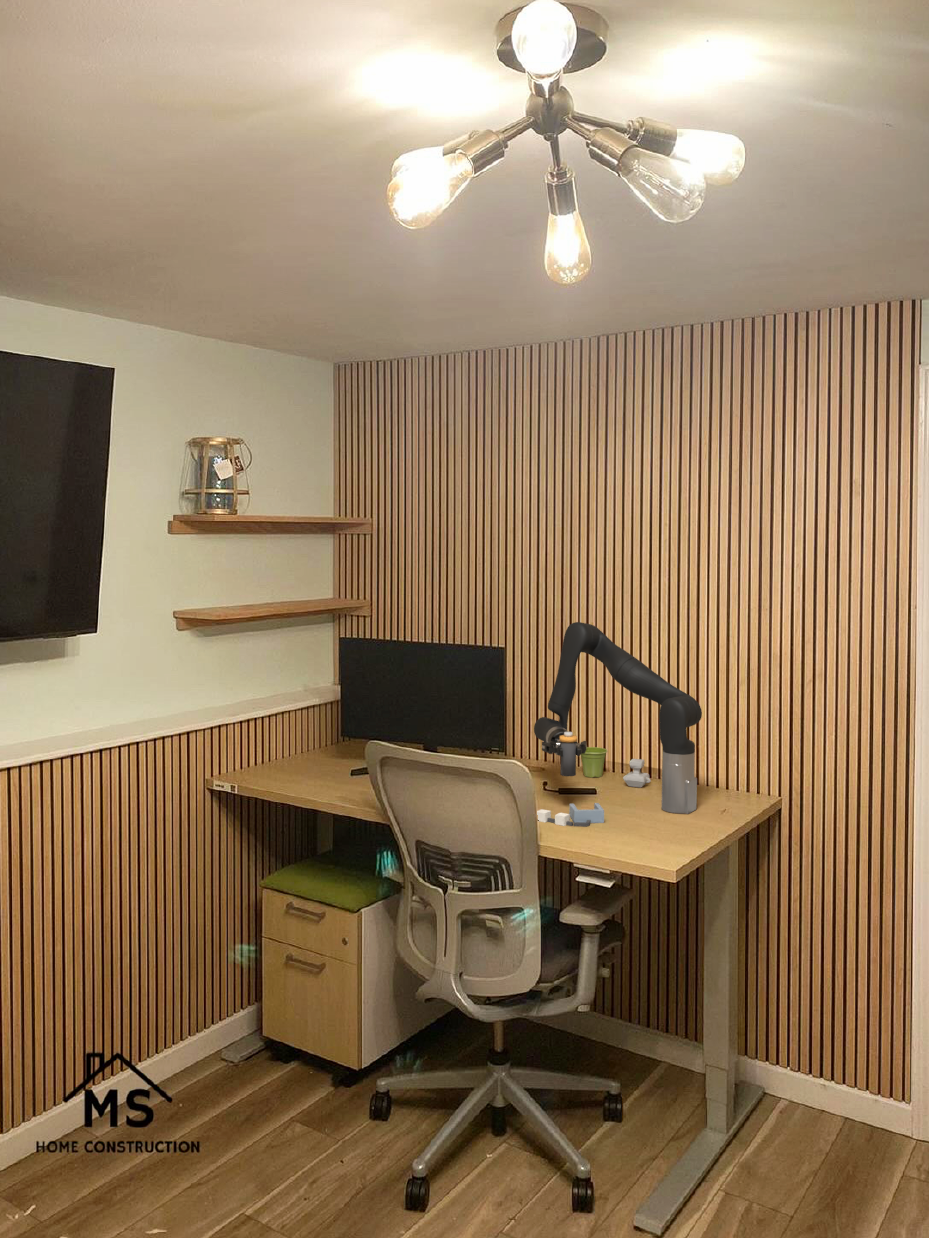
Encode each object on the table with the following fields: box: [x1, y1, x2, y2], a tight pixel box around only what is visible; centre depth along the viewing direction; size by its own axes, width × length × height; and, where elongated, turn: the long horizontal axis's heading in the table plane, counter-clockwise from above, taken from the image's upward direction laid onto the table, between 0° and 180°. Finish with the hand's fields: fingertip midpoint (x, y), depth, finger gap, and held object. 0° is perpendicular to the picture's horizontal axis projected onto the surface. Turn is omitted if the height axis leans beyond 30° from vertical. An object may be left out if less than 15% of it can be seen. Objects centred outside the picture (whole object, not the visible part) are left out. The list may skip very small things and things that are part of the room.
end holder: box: [568, 802, 605, 824], centre depth 286 cm, size 8×8×4 cm
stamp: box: [622, 758, 651, 788], centre depth 322 cm, size 9×7×8 cm
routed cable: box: [536, 808, 592, 827], centre depth 282 cm, size 15×7×3 cm, turn 54°
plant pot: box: [580, 746, 608, 778], centre depth 336 cm, size 9×9×9 cm
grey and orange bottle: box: [560, 731, 578, 777], centre depth 292 cm, size 5×5×12 cm
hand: (570, 752), depth 290 cm, fingers closed on grey and orange bottle, 4 cm apart
